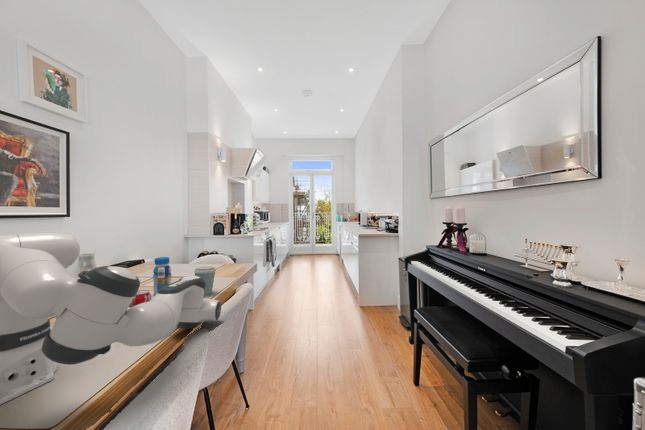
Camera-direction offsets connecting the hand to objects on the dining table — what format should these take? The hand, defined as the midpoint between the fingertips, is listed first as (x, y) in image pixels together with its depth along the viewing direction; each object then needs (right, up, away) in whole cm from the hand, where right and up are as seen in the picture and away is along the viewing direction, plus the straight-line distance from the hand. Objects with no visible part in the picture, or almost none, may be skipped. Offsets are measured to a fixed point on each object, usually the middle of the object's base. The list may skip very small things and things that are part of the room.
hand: (150, 308), depth 112 cm
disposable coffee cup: (+8, -5, +34) cm, 36 cm away
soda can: (-3, -6, 0) cm, 6 cm away
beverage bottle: (-15, -5, +34) cm, 37 cm away
